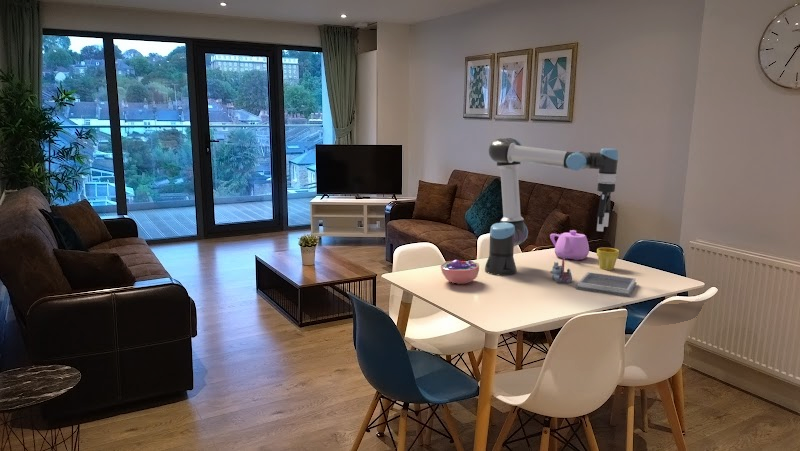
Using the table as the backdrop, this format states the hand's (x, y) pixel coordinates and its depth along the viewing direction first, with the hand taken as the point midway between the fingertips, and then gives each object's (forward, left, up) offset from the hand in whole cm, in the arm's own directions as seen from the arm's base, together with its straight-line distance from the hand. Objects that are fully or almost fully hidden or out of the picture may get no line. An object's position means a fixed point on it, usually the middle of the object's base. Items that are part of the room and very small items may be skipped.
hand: (602, 228), depth 260 cm
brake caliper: (-15, -11, -25) cm, 31 cm away
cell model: (-53, -39, -25) cm, 71 cm away
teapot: (-21, +39, -25) cm, 51 cm away
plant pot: (-1, +25, -25) cm, 35 cm away
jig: (+6, -10, -24) cm, 27 cm away
